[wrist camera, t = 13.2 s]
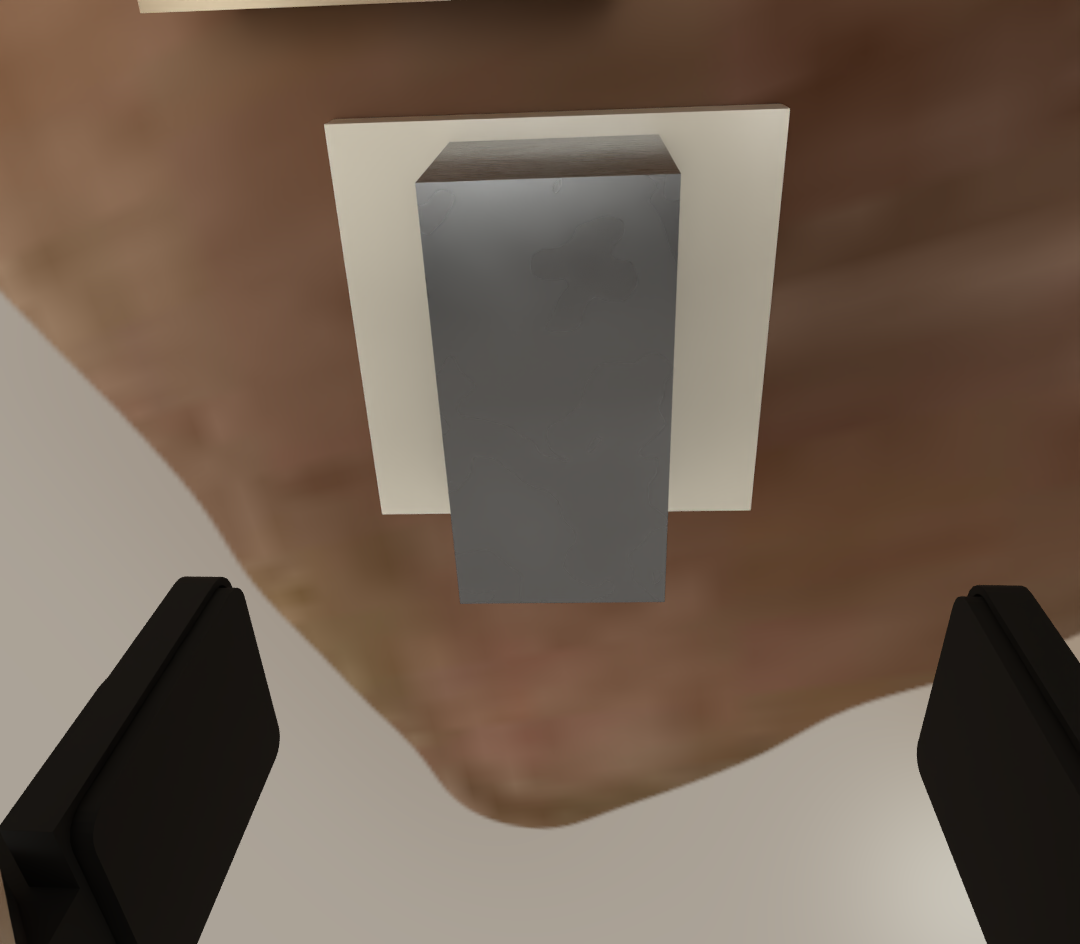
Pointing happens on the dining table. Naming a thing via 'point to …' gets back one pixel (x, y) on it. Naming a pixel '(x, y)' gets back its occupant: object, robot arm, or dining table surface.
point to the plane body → (246, 4)
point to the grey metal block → (554, 361)
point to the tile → (701, 298)
